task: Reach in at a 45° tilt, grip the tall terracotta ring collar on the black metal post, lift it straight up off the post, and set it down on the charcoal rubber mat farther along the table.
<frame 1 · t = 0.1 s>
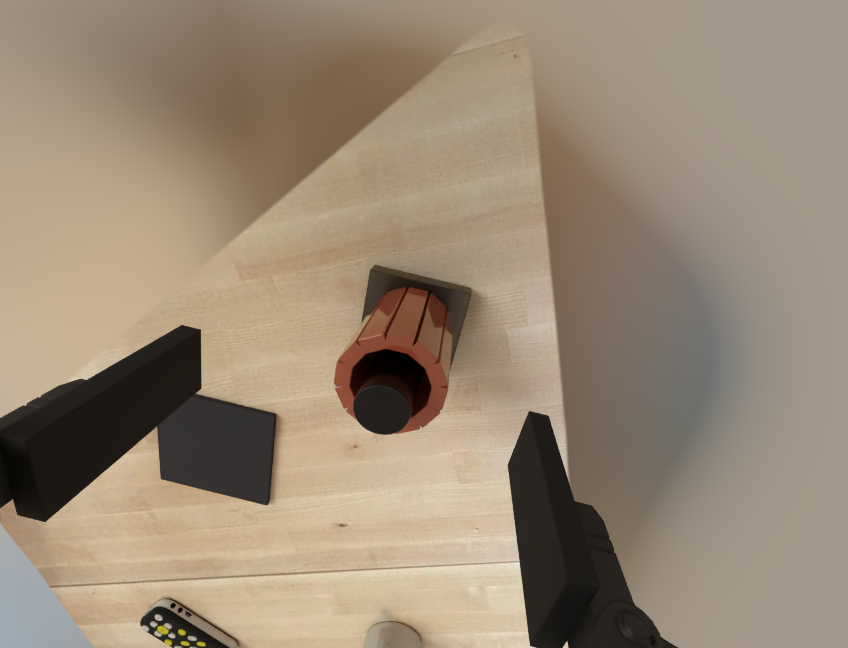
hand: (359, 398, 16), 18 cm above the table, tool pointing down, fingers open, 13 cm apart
post stand: (412, 321, 33), on the table
sleeve ring: (410, 327, 32), point 1 cm above the table, touching post stand
cup: (392, 629, 50), on the table
remote control: (195, 626, 54), on the table
mat: (216, 446, 41), on the table
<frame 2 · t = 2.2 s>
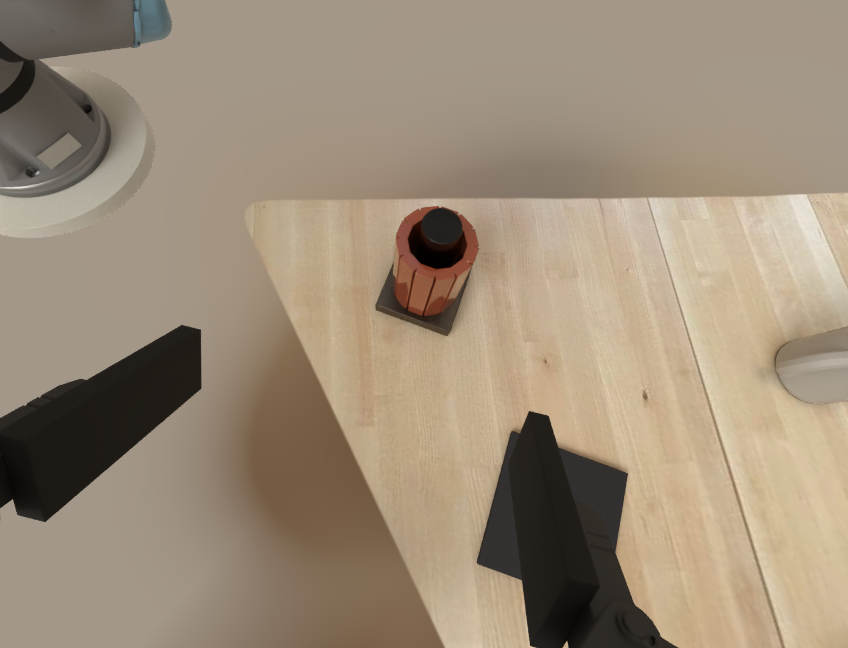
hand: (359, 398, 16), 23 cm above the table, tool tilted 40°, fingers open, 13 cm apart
post stand: (424, 290, 43), on the table
sleeve ring: (425, 284, 41), point 1 cm above the table, touching post stand
cup: (790, 373, 45), on the table
mat: (554, 515, 37), on the table
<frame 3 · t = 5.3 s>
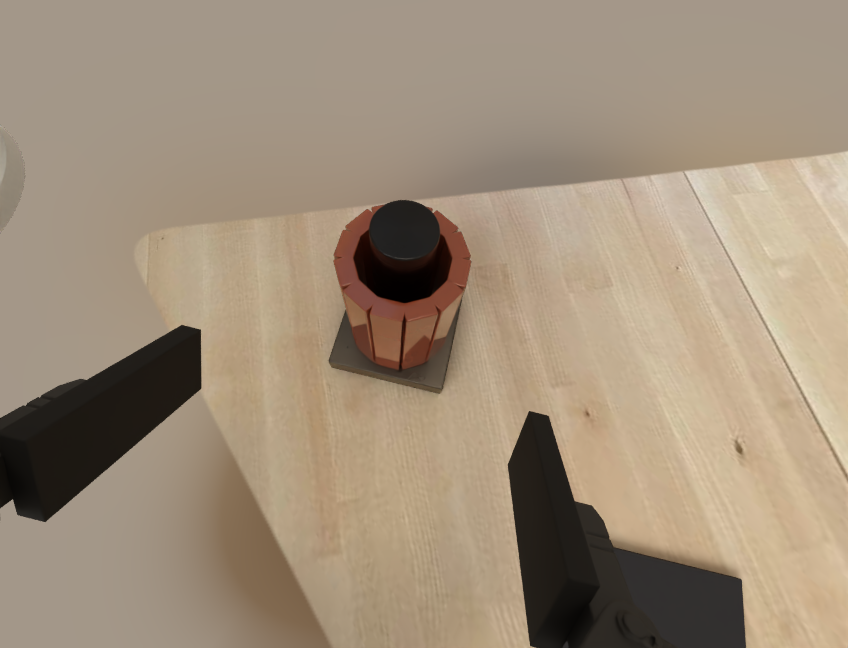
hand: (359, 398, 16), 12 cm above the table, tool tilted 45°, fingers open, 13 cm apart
post stand: (399, 329, 30), on the table
sleeve ring: (399, 322, 28), point 1 cm above the table, touching post stand
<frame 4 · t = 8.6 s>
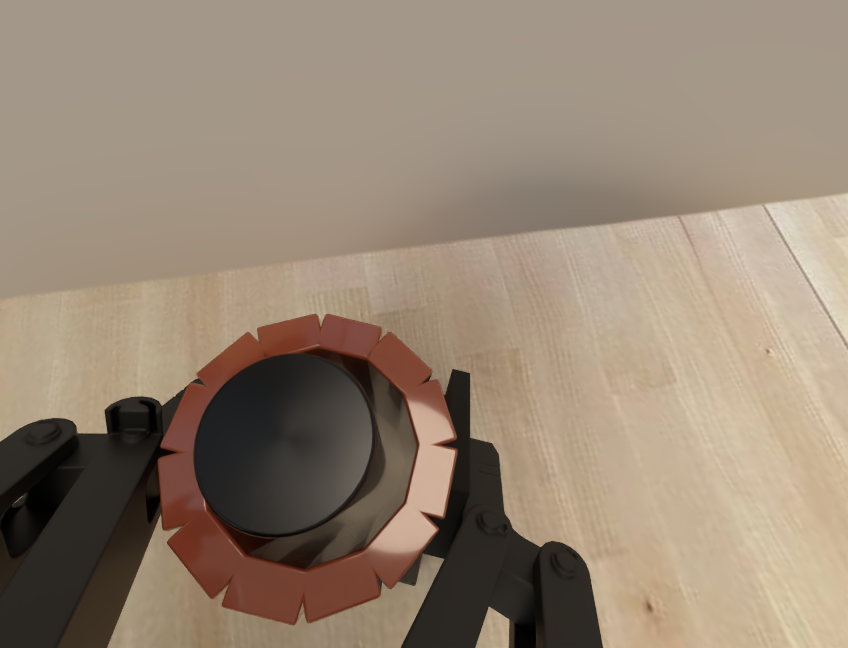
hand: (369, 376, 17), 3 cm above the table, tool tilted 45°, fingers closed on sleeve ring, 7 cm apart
post stand: (352, 463, 19), on the table
sleeve ring: (349, 462, 18), point 2 cm above the table, touching gripper, post stand
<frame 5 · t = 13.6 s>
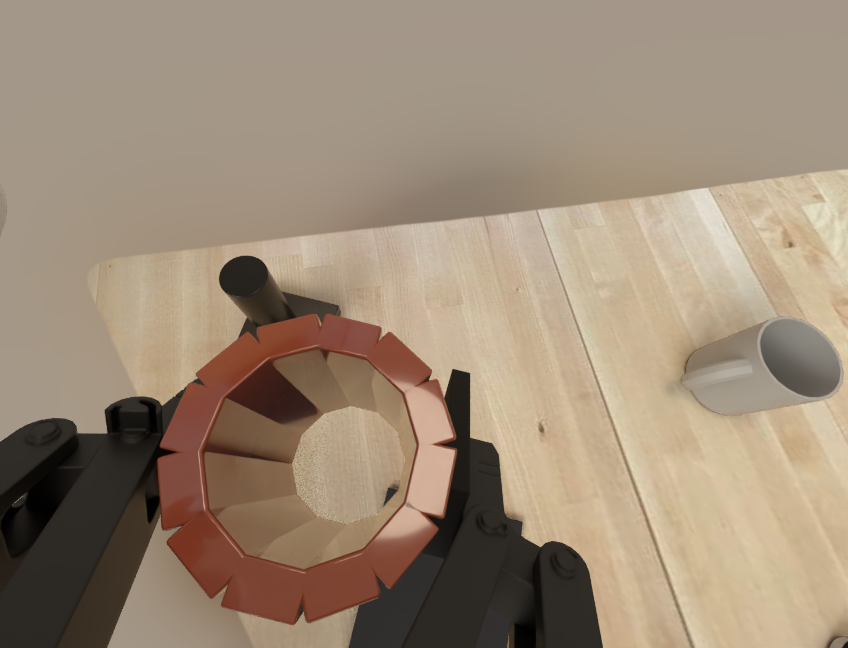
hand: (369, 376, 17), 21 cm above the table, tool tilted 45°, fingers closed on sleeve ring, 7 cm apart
post stand: (288, 337, 39), on the table
sleeve ring: (349, 462, 18), point 19 cm above the table, touching gripper
cup: (703, 383, 41), on the table
mat: (439, 582, 33), on the table
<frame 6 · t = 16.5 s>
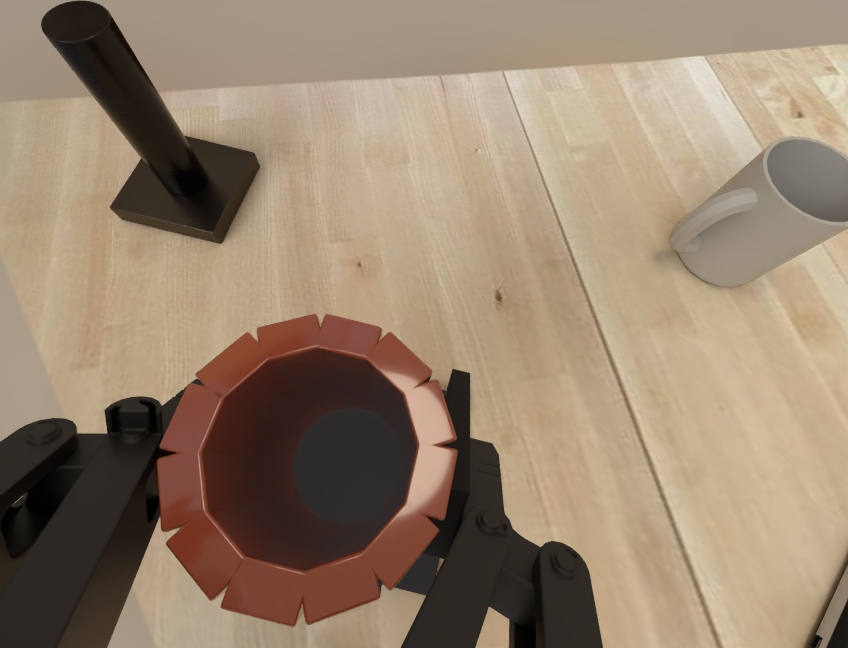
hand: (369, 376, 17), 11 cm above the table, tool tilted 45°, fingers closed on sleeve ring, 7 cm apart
post stand: (194, 191, 32), on the table
sleeve ring: (349, 462, 18), point 9 cm above the table, touching gripper
cup: (697, 254, 34), on the table
mat: (361, 465, 26), on the table
when the fingers open (2 cm above the table, at t = 18.7 s): sleeve ring stays where it is, resting on mat.
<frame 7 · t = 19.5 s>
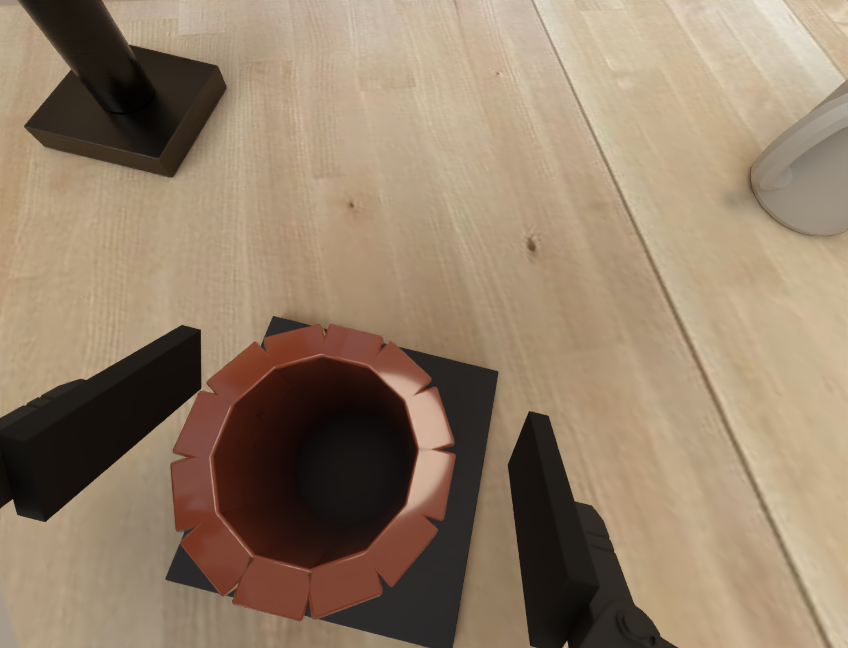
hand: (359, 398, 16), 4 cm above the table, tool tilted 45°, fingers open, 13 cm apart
post stand: (140, 115, 25), on the table
sleeve ring: (351, 464, 18), resting on mat
cup: (778, 197, 27), on the table
mat: (352, 463, 19), on the table
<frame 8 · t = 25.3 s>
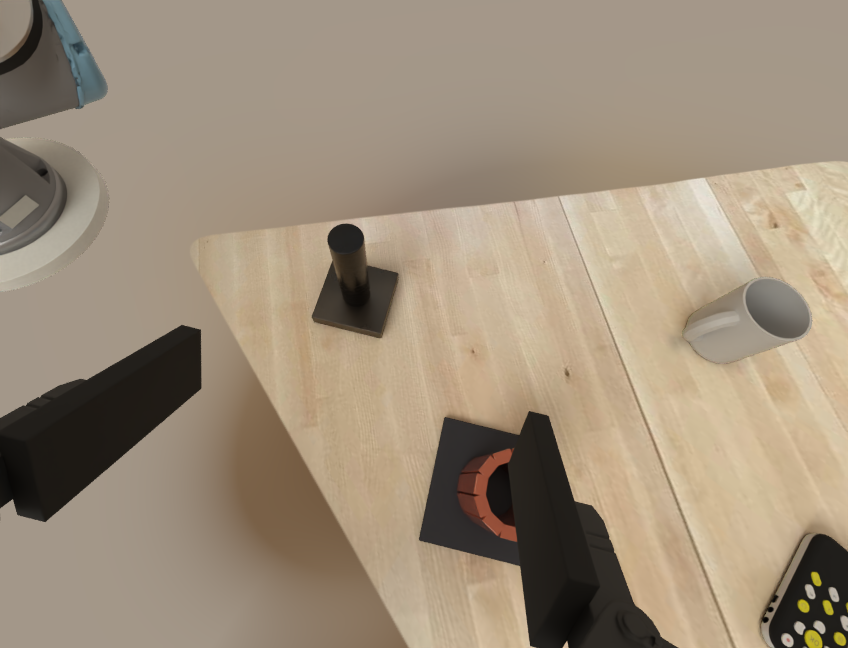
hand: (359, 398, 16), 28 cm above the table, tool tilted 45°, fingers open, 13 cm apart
post stand: (357, 299, 47), on the table
sleeve ring: (490, 490, 40), resting on mat
cup: (700, 338, 49), on the table
remote control: (806, 600, 39), on the table
mat: (489, 489, 41), on the table
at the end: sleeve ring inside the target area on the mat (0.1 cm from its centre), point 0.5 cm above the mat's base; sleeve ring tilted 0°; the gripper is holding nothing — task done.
